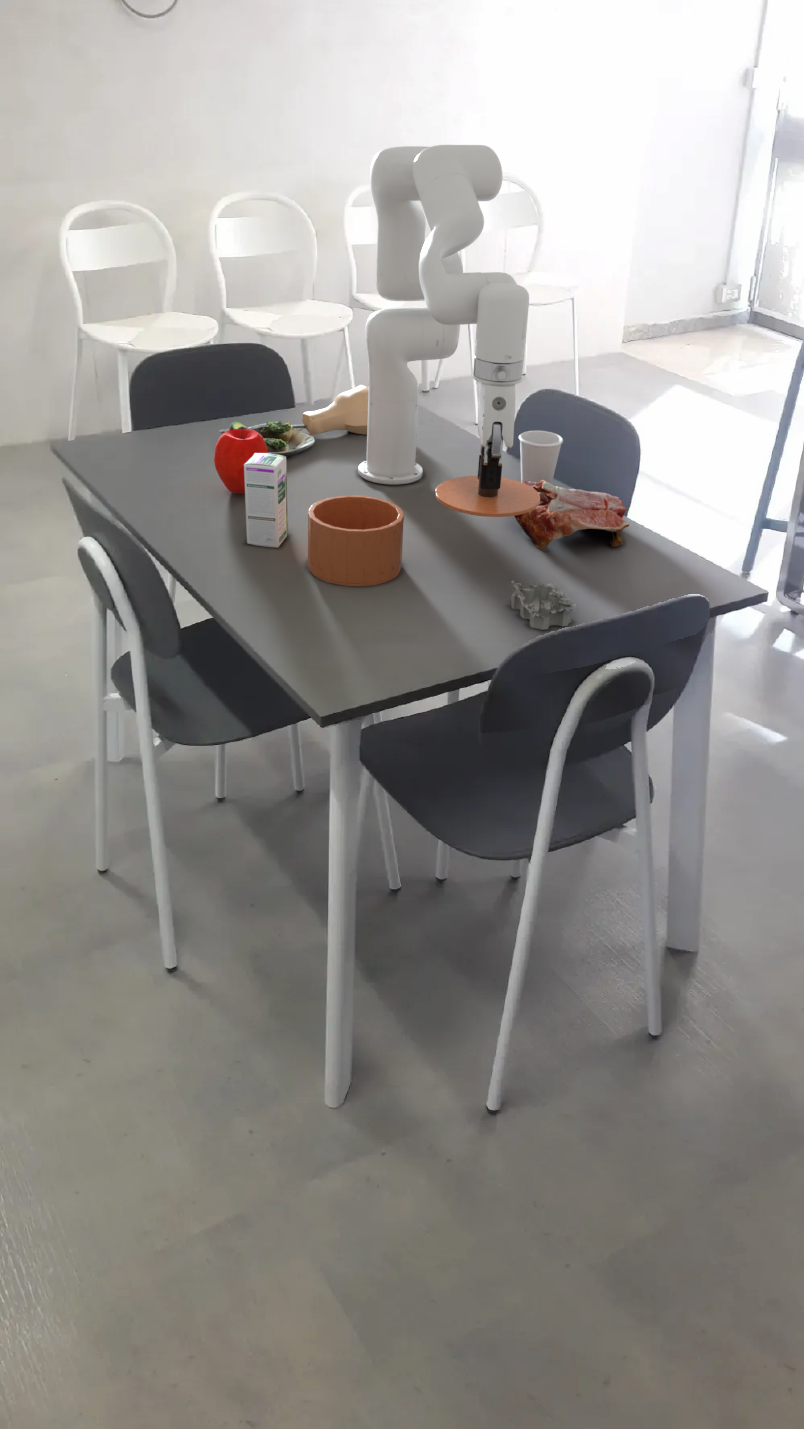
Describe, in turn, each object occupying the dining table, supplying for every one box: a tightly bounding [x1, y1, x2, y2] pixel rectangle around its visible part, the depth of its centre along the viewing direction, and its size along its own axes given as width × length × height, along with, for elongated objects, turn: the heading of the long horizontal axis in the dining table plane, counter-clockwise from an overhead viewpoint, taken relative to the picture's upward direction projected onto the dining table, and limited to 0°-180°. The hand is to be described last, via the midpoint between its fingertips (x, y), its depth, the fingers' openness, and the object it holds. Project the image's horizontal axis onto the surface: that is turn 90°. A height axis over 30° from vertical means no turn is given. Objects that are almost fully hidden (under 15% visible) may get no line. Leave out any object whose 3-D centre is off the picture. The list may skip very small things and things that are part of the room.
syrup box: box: [244, 453, 289, 549], centre depth 212 cm, size 6×6×14 cm
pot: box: [307, 494, 405, 587], centre depth 206 cm, size 15×15×10 cm
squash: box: [301, 384, 369, 436], centre depth 265 cm, size 11×20×9 cm, turn 118°
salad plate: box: [217, 420, 316, 458], centre depth 257 cm, size 19×18×5 cm
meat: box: [513, 480, 630, 552], centre depth 223 cm, size 21×21×10 cm
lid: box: [435, 452, 540, 518], centre depth 201 cm, size 17×17×8 cm
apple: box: [213, 429, 268, 495], centre depth 231 cm, size 10×10×12 cm
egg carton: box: [510, 580, 577, 631], centre depth 195 cm, size 11×8×4 cm
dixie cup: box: [518, 430, 564, 484], centre depth 241 cm, size 8×8×10 cm
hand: (488, 483), depth 201 cm, fingers closed on lid, 3 cm apart
